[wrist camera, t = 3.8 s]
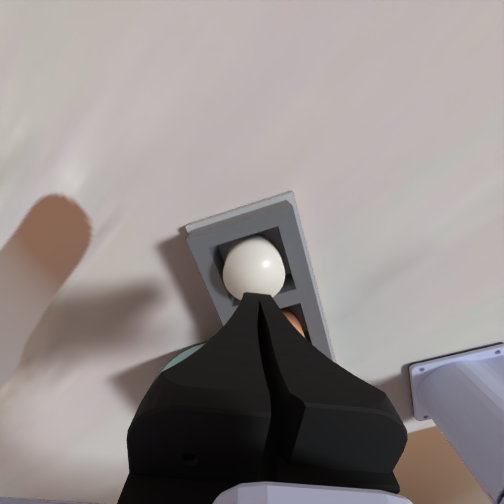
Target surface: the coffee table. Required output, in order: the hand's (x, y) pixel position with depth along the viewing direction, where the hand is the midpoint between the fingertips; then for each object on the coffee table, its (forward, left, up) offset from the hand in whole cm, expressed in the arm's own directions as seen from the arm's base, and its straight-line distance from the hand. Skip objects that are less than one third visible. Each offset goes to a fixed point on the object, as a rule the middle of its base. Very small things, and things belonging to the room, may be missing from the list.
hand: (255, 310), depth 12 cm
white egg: (0, 0, -7) cm, 7 cm away
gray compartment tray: (0, +6, -8) cm, 10 cm away
